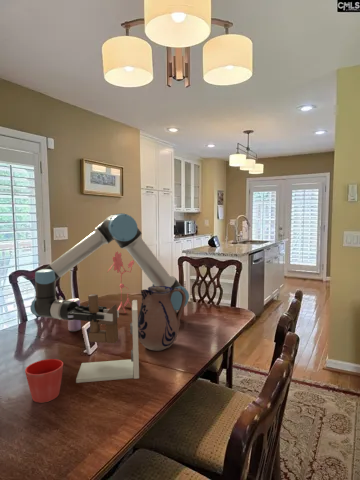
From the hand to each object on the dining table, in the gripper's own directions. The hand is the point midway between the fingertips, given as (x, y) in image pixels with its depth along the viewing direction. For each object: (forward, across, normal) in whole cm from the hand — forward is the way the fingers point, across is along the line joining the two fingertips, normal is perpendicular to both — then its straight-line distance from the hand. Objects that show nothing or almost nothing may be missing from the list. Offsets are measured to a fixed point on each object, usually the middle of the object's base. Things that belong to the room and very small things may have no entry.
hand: (115, 315), depth 121 cm
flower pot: (-9, +27, -18) cm, 34 cm away
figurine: (-35, -59, -18) cm, 71 cm away
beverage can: (-39, -24, -18) cm, 49 cm away
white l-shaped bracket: (+2, +7, -18) cm, 20 cm away
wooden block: (-5, +1, -10) cm, 12 cm away
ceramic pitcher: (+10, -20, -18) cm, 29 cm away
